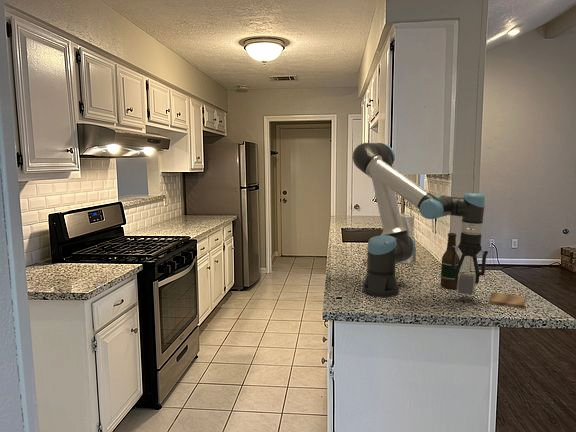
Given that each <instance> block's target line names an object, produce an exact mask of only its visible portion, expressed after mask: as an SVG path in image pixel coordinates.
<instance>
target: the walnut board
mask: <svg viewBox="0 0 576 432" xmlns="http://www.w3.org/2000/svg"><path fill="white" fill-rule="evenodd" d="M488 303H489V305H497V306H504V307H510V308H517V309H525V296H523V295H515V294H509V293H501V292H500V293H498V292H493V291H491V292H490V296H489V302H488Z"/></svg>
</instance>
